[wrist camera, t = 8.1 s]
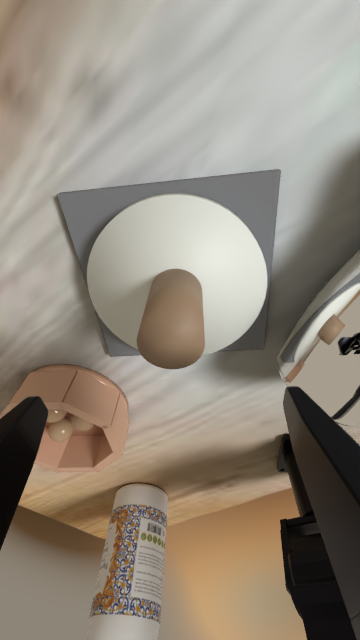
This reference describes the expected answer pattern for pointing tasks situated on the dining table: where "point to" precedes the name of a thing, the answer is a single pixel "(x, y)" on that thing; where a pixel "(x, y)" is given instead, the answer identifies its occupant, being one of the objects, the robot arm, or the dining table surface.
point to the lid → (177, 277)
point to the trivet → (229, 190)
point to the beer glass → (329, 347)
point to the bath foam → (131, 567)
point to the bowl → (77, 417)
